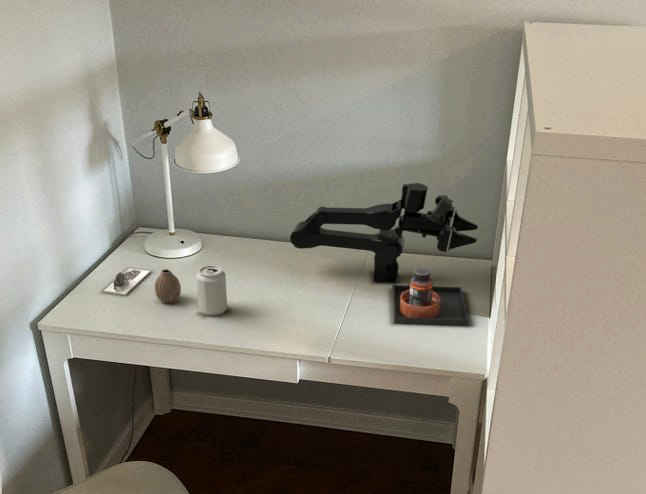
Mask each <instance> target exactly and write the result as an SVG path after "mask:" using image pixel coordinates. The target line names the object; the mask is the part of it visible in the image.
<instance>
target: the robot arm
mask: <svg viewBox="0 0 646 494" xmlns="http://www.w3.org/2000/svg"><path fill="white" fill-rule="evenodd" d="M428 190H429V187H428V186H427V185H425V184H423V183H420V182H413V183H408V184H407V183H403V185H402V189H401V198H400V199H399V200H397V201H394V202H392V203H382V204H375V205H372V206H370V207H326V206H319V207H317V208H316V209H315V211H314V212H313V213H312V214H311V215H309V216H308V217H307V218H306V219H305V220H304V221H299V222H298V223H297V224H296V225H295V226H294V227H293V230H292V232H291V234H290V236H289V240H290V243H291V244H292V246H293V247H294V248H296V249H299V250H303V249H313V248H318V247H322V246H323V247H324V246H325V247H333V248H343V249H351V250H360V251H370V252H372V253H374V256H373V259H374V262H373V264H374V265H373V272H372V277H373V278H372V280H373V283H386V284H387V283H389V284H391V283H393V284H395V283H397V279H398V278H399V261H398V260H397V259H398V258H399V257H400V256H401V255H402V253H403V250H404V246H405V237H404V235H403V233H404V232H408V233H413V234H419V235H421V237H422V238H426V237H427V236H429V237H435V238H436V240H437V243H436V248H437V250H438V251H439V252H443V253H447V251H451V250H453V249H457V248H461V247H464V246H468V245H472V244H476V243H477V240H478V239H477V238H476V237H473V236H471V235H468V234H464V233H461V232H465V231H466V232H467V231H475V230H476V231H477V230H478V228H479V227H478V224H476V223H474V222H472V221H470V220H468V219H466V218H464V217H463V216H461V215H460V213H459V212H458V209H455V208H456V207H455V206H453V203H454V200H452V199H450V198H449V196H448V195H445V194H442V195H438V194H437V196H436V198H435V199H434V203H435V204H436V205H435V206H434V209H433V210H427V212H426V213H425V212H421V210H423V209H424V208H425V206H426V205H425V204H426V200H427V195H428ZM403 210H404V211H403ZM402 212H403V214H402ZM397 220H398V223H397ZM396 224H397V226H396ZM323 225H355V226H356V225H357V226H359V225H360V226H361V225H362V226H368V227H370V228H372V229H375V230H378V231H379V232H378V233H374V234H373V233H372V234H371V233H363V232H362V233H361V232H353V231H346V230H345V231H344V230H336V229H335V230H334V229H326V228H323V227H322V226H323Z"/></svg>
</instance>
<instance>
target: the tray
mask: <svg viewBox="0 0 646 494" xmlns="http://www.w3.org/2000/svg"><path fill="white" fill-rule="evenodd" d="M407 290H410V285H409V284H408V285H407V284H405V285H404V284H392V287H391V295H392V315H393V324H396V325H397V324H399V325H400V324H401V325H427V326H428V325H430V326H456V327H457V326H458V327H460V326H461V327H468V326H469V322H470V319H469V315H468V310H467V305H466V301H465V296H464V292H463V287H462V286H444V285H443V286H441V285H439V286H438V285H433V289H432V291H433V292H435V293H437V294H438V295H439V296H440V297H441V305H440V312H439V314H438V315H437V316H436V317H434V318H416V317H407V316H405V315H403V314H402V313H401V311H400V296H401V294H402V293H403V292H405V291H407Z"/></svg>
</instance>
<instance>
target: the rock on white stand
mask: <svg viewBox="0 0 646 494" xmlns="http://www.w3.org/2000/svg"><path fill="white" fill-rule="evenodd" d="M150 273H151V271H150V270H146V269H145V270H144V269H136V268H131V267H130V268H128V269H126V270H125V271H124V272H123V273H122V272H120V271H119V272H118V273H117V274H116V275H115V279H114V281H112V283H110V284H109V285H108V286H107V287H106V288H105V289H104V290H103V293H107V294H113V295H114V294H115V295H121V296H127V295H128V294H129V293H131V291H132V290H133V289H134V288H136V287H137V286H138V285H139V284H140V282H142V281H143V280H144V279H145V278H146V277H147V276H148V275H149V274H150Z"/></svg>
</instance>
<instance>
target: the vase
mask: <svg viewBox="0 0 646 494" xmlns="http://www.w3.org/2000/svg"><path fill="white" fill-rule="evenodd" d="M181 285H182V284H181V283H180V280H179V278H178V277H177V276H176V275H175V274H174V273H173V272H172V270H170V268H165V269H162V270H161V272H160V274H159V275H158V277H157V278H156V280H155V282H154V294H155V296H156V297H157V299H158V300H159V301H160V302H161V303H163V304H173V303H175V302H177V301H178V300H179V298H180V296H181V293H182V292H181V291H182V286H181Z"/></svg>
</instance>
